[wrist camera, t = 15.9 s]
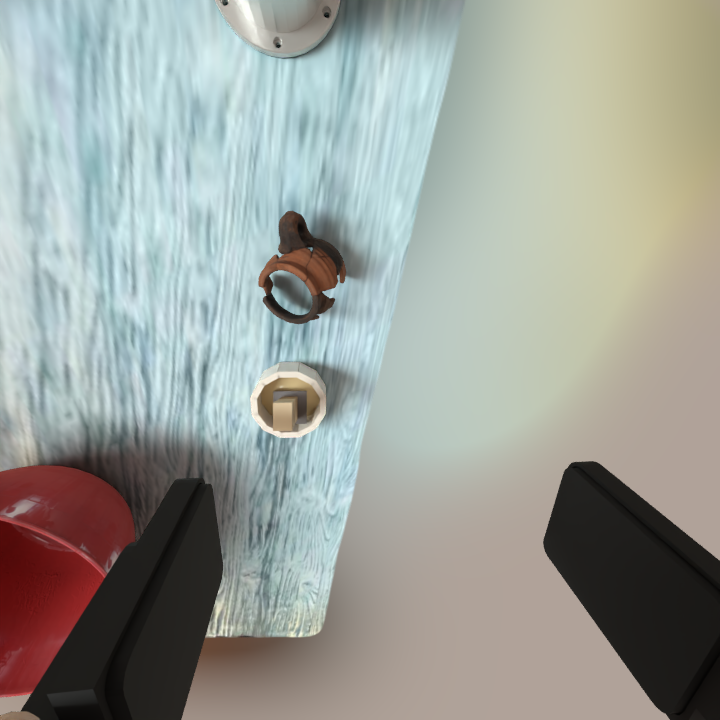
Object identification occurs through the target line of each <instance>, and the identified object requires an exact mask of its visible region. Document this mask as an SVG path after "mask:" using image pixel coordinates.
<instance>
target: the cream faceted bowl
mask: <svg viewBox="0 0 720 720" xmlns="http://www.w3.org/2000/svg"><path fill="white" fill-rule="evenodd" d="M273 391H307V424H295V425H294V427H293V429H292V431H273ZM250 400H251V412H252V416H253V418H254V419H255V420H256V422H257V423H258V424H259V425H260V427H261V428H262V429H263V430H264V431H266V432H269V433H271V434H273V435H275V436H278V437H281V438H289V437H301V436H303V435H305V434H307V433H309V432H311V431H313V430H314V429H316V428H317V427H318V425H319V424H320V422H321V421H322V419H323V418H324V416H325V414H326V386H325V384H324V382H323V380H322V379H321V377H320V376H319V374H318V373H317V371H316V370H314V369H312V368H310V367H308V366H306V365H305V364H303V363H301V362H300V363H299V362H279V363H278V364H276V365H274V366H272V367H270V368H268V369H267V370H265V371H264V372H263V373H262V375H261V377H260V379H259V380H258V382H257V384H256V386H255V388H254V390H253V393H252V395H251V397H250Z"/></svg>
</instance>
